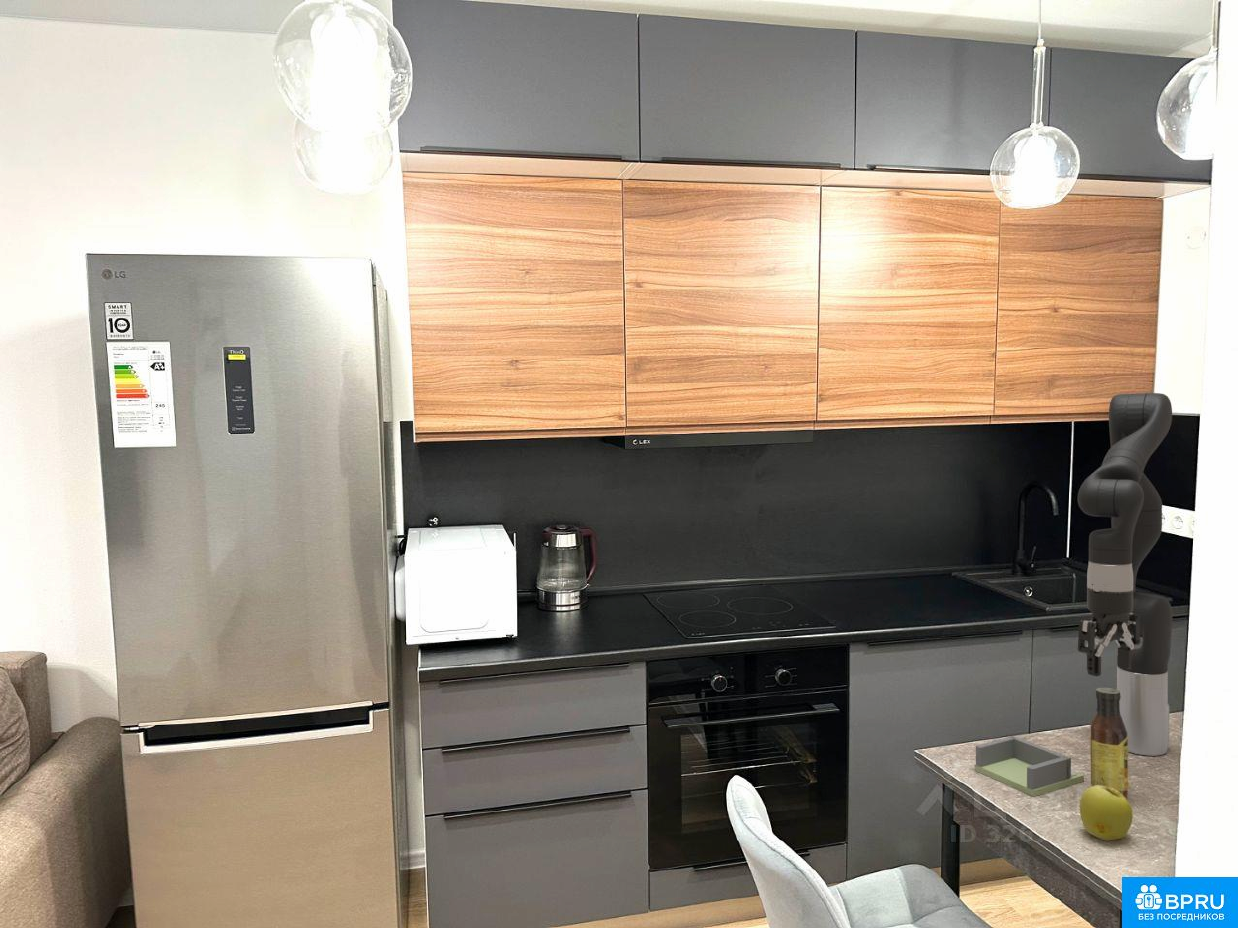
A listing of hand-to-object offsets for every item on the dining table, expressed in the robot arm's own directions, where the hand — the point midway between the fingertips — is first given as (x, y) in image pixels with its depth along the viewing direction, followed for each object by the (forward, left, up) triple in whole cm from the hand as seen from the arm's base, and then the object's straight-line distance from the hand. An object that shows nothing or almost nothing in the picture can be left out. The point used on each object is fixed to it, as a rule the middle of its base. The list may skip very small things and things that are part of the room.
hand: (1109, 671), depth 165 cm
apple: (+15, +10, -24) cm, 30 cm away
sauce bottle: (0, 0, -24) cm, 24 cm away
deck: (+6, -13, -24) cm, 27 cm away
